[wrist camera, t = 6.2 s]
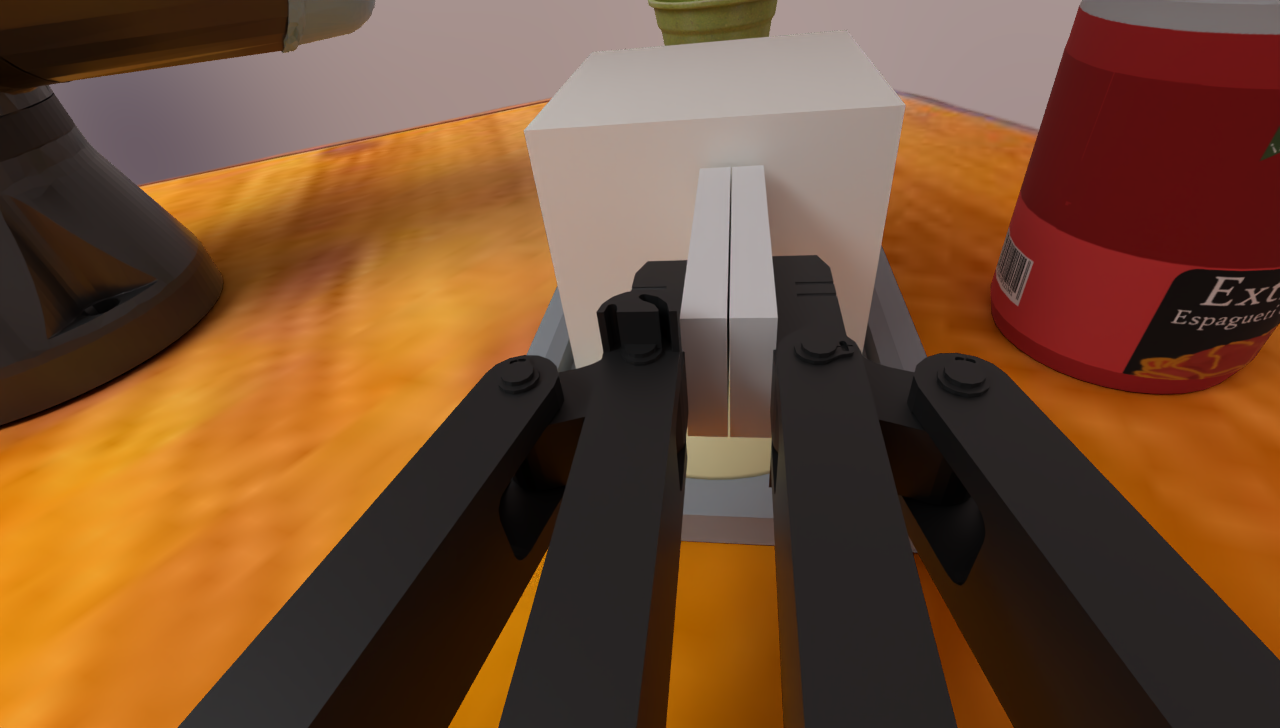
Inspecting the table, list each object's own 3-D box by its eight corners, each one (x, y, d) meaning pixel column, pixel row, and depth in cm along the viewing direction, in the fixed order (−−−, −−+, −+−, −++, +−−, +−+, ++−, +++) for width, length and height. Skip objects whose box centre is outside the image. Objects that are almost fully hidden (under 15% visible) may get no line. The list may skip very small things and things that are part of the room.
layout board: (983, 556, 15) (1027, 461, 13) (471, 530, 17) (432, 446, 15) (846, 186, 33) (854, 121, 31) (608, 197, 36) (599, 137, 33)
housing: (857, 381, 18) (905, 104, 13) (578, 379, 20) (523, 130, 15) (823, 245, 25) (846, 29, 20) (619, 251, 27) (592, 52, 21)
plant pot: (641, 139, 44) (628, 5, 38) (677, 102, 51) (671, -16, 45) (766, 140, 41) (771, -5, 35) (787, 101, 47) (794, -26, 42)
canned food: (1164, 436, 17) (1444, 10, 10) (937, 316, 23) (1022, -11, 16) (1294, 343, 20) (1588, -49, 13) (1060, 256, 26) (1179, -49, 19)
